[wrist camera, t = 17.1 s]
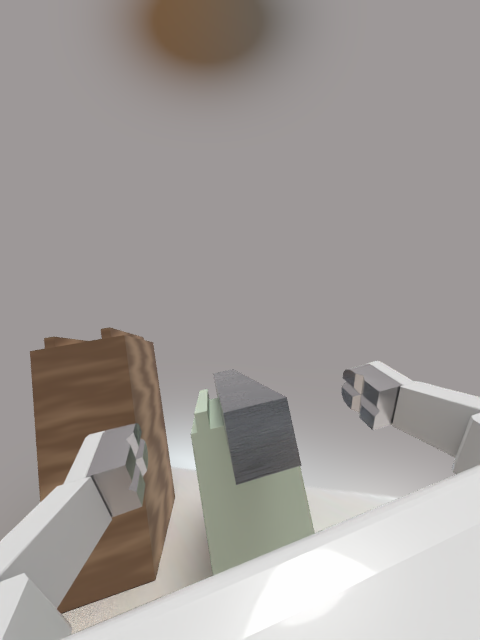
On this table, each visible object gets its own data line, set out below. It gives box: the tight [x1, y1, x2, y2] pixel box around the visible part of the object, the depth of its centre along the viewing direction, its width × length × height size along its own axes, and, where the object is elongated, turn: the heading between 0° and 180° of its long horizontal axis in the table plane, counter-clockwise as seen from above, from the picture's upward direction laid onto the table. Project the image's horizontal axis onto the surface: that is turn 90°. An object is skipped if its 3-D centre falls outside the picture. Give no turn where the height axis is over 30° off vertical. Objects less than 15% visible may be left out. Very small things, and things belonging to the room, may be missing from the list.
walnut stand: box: [30, 328, 175, 613], centre depth 31 cm, size 14×10×27 cm
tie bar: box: [213, 369, 301, 485], centre depth 21 cm, size 23×3×3 cm, turn 8°
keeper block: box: [191, 389, 314, 575], centre depth 23 cm, size 12×8×17 cm, turn 8°
